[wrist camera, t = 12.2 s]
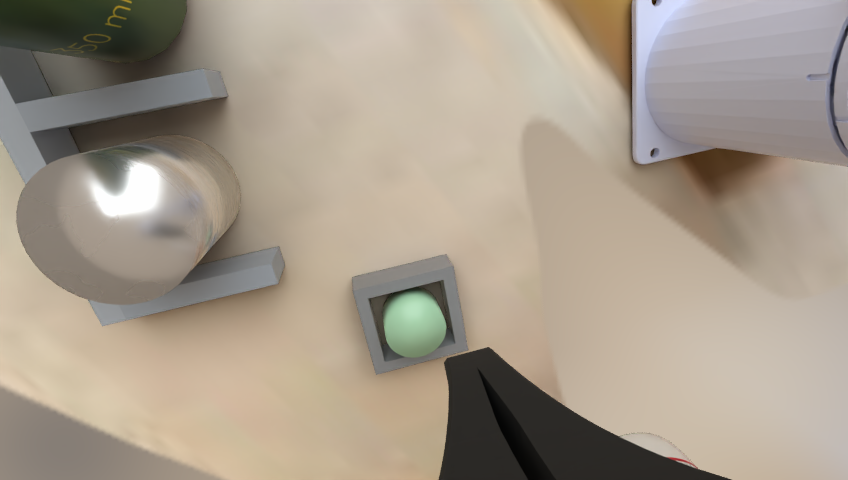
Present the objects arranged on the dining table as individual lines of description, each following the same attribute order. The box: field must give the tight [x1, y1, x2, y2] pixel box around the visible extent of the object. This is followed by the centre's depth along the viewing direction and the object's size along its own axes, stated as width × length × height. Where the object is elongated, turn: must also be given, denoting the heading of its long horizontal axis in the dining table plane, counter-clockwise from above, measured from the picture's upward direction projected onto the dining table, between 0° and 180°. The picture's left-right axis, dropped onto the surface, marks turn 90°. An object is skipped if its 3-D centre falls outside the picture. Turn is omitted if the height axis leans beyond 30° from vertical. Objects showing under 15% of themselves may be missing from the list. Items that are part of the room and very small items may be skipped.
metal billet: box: [17, 135, 241, 305], centre depth 16 cm, size 5×5×6 cm
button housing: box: [352, 254, 468, 375], centre depth 22 cm, size 5×5×2 cm
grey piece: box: [0, 46, 285, 326], centre depth 16 cm, size 8×17×2 cm, turn 11°
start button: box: [382, 287, 446, 358], centre depth 21 cm, size 3×3×2 cm
